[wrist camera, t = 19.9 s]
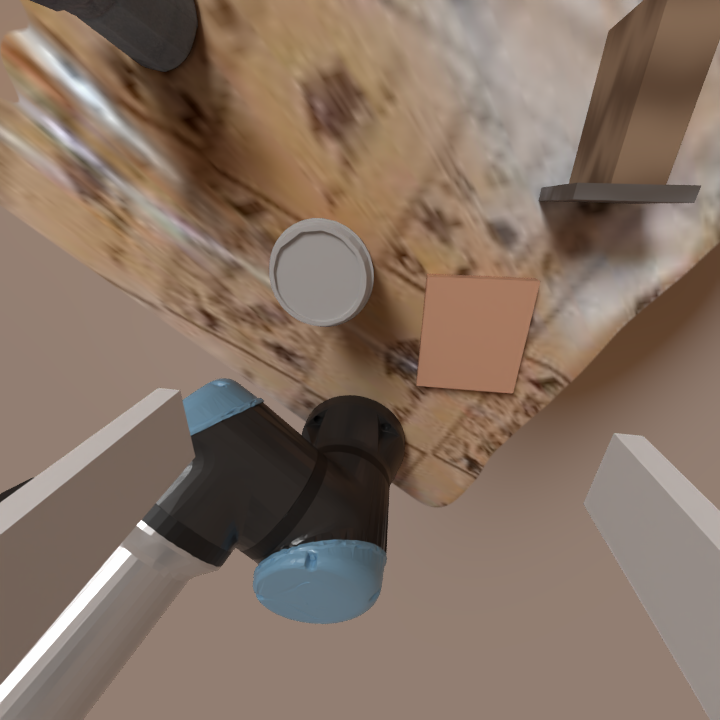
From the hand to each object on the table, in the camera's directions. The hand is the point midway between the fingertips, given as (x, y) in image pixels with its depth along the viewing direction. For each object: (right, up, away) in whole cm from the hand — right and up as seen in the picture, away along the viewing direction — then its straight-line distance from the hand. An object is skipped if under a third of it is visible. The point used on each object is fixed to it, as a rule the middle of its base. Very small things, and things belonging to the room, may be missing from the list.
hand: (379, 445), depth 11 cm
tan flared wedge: (+22, +25, +21) cm, 39 cm away
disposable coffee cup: (-3, +15, +29) cm, 33 cm away
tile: (+13, +12, +27) cm, 32 cm away
